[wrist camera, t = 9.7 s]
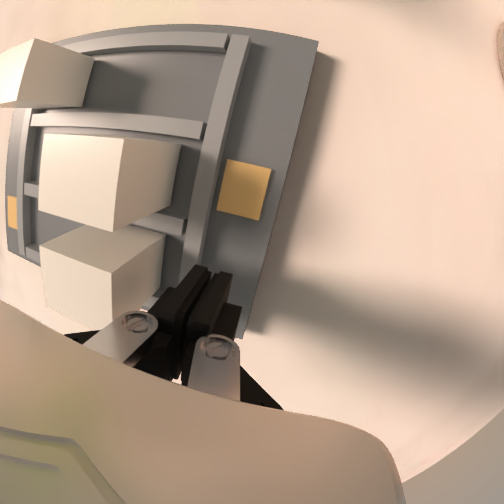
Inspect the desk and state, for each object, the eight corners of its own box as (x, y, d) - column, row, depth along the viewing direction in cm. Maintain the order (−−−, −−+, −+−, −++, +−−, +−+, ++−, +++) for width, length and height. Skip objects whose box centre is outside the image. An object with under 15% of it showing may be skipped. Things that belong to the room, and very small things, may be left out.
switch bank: (316, 50, 11) (320, 34, 9) (245, 327, 16) (240, 347, 14) (39, 52, 11) (22, 48, 10) (17, 245, 17) (1, 253, 15)
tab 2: (181, 144, 12) (124, 139, 7) (170, 205, 13) (112, 232, 8) (113, 135, 12) (44, 133, 7) (105, 190, 13) (38, 210, 8)
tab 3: (166, 234, 13) (111, 273, 9) (160, 286, 14) (113, 338, 10) (102, 217, 14) (39, 245, 9) (101, 266, 15) (46, 306, 10)
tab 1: (94, 58, 11) (34, 38, 6) (81, 107, 12) (16, 100, 7) (52, 65, 11) (-4, 55, 6) (41, 109, 12) (-18, 107, 7)
